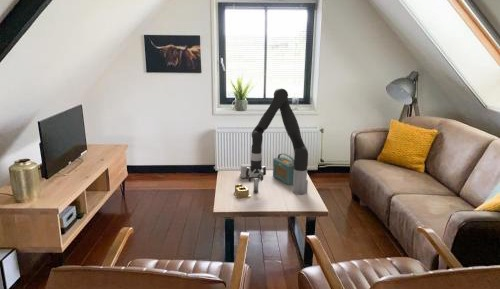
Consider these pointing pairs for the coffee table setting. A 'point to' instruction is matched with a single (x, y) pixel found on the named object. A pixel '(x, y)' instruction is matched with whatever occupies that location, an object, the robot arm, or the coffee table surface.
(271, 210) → the coffee table surface
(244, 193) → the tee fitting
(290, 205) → the coffee table surface
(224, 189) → the coffee table surface
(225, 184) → the coffee table surface
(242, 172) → the toy vehicle
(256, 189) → the silver round-ended rod
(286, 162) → the radio
